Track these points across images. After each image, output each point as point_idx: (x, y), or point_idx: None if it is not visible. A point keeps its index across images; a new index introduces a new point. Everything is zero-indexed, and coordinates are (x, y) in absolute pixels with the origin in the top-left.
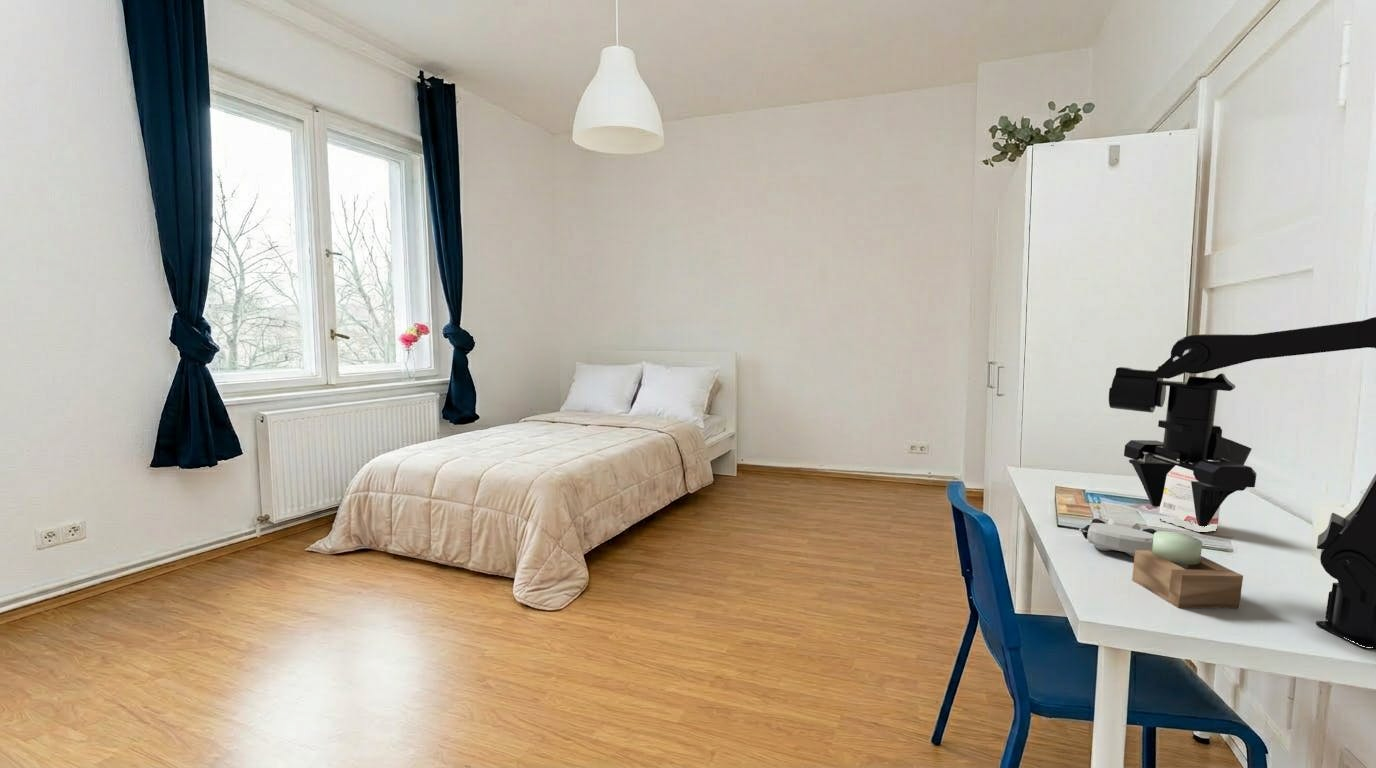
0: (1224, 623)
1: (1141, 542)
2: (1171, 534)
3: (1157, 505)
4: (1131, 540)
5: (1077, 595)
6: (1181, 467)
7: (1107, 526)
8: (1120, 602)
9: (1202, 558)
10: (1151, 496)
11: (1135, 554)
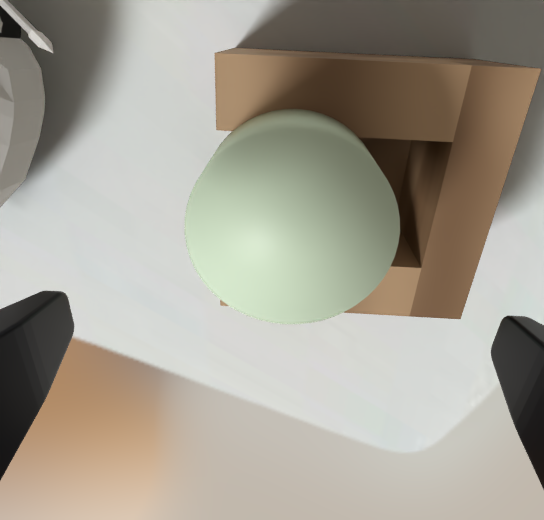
0: (534, 208)
1: (17, 117)
2: (232, 225)
3: (67, 314)
4: (7, 154)
5: (321, 423)
6: None
7: None
8: (368, 366)
9: (318, 82)
10: (36, 408)
11: None
